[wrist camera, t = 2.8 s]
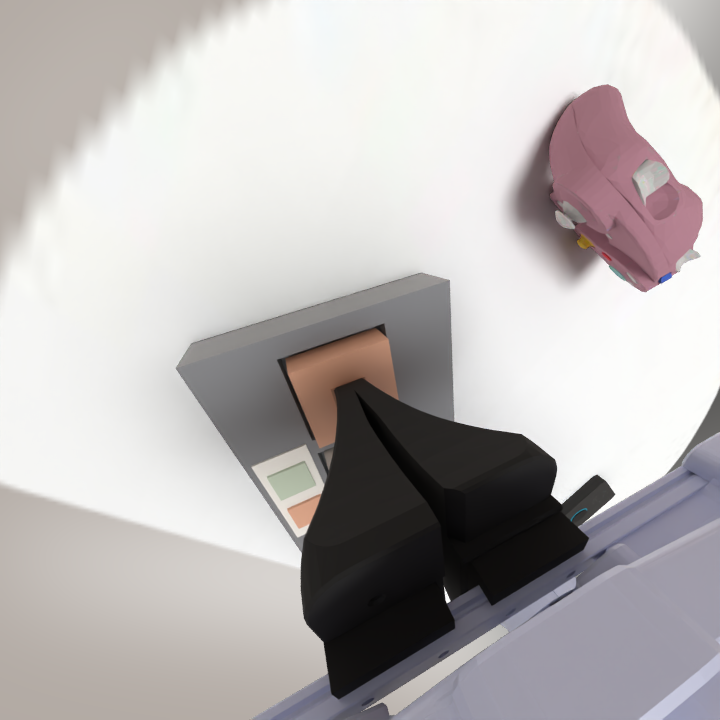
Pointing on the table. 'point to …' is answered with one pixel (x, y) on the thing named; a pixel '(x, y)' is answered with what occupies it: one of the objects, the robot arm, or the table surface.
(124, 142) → the table surface
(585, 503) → the smart home device
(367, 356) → the terracotta key
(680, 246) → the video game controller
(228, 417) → the keypad
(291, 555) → the table surface
